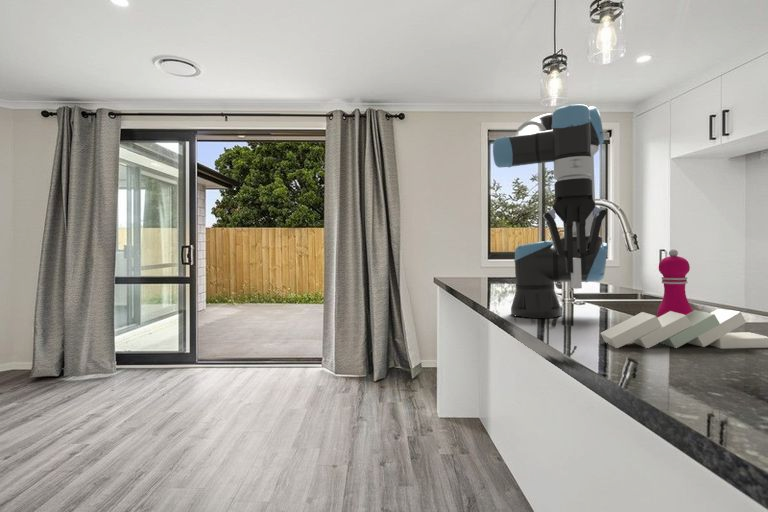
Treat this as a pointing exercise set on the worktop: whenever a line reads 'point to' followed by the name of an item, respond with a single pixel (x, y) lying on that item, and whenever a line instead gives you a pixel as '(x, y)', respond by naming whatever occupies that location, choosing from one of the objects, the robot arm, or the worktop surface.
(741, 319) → the tile
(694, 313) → the tile
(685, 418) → the worktop surface
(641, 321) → the tile
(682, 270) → the pepper mill
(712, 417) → the worktop surface
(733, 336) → the tile
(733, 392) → the worktop surface
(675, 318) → the tile
